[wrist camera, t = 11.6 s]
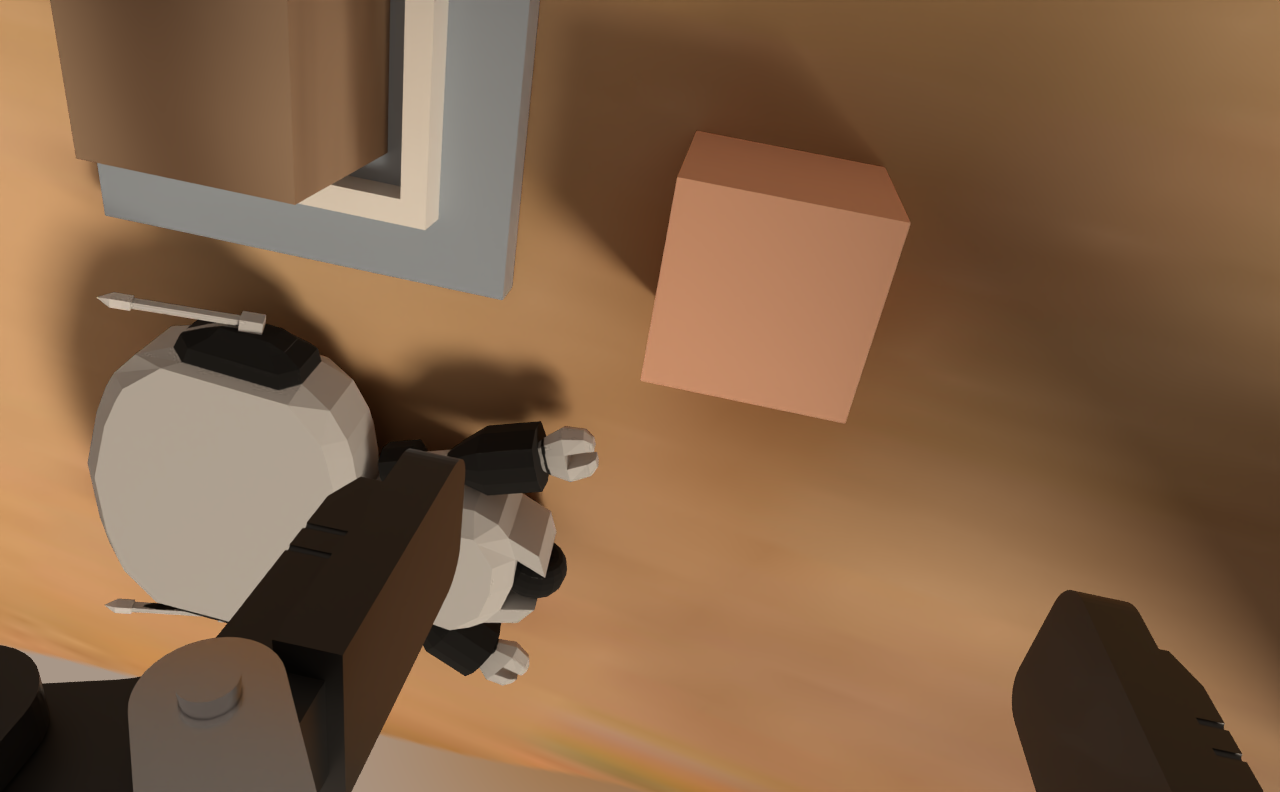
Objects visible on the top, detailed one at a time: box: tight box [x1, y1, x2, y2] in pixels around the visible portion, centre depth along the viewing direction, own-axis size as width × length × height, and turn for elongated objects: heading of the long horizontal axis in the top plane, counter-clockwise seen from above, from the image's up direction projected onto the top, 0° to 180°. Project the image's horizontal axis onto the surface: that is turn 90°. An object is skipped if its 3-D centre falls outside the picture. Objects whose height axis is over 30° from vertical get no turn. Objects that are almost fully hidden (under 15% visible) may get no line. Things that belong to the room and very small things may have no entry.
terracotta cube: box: [640, 131, 911, 423], centre depth 21 cm, size 5×5×5 cm
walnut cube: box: [50, 0, 390, 205], centre depth 19 cm, size 5×5×5 cm
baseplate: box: [97, 0, 540, 300], centre depth 22 cm, size 12×12×2 cm
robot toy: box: [88, 292, 599, 685], centre depth 28 cm, size 12×4×15 cm
